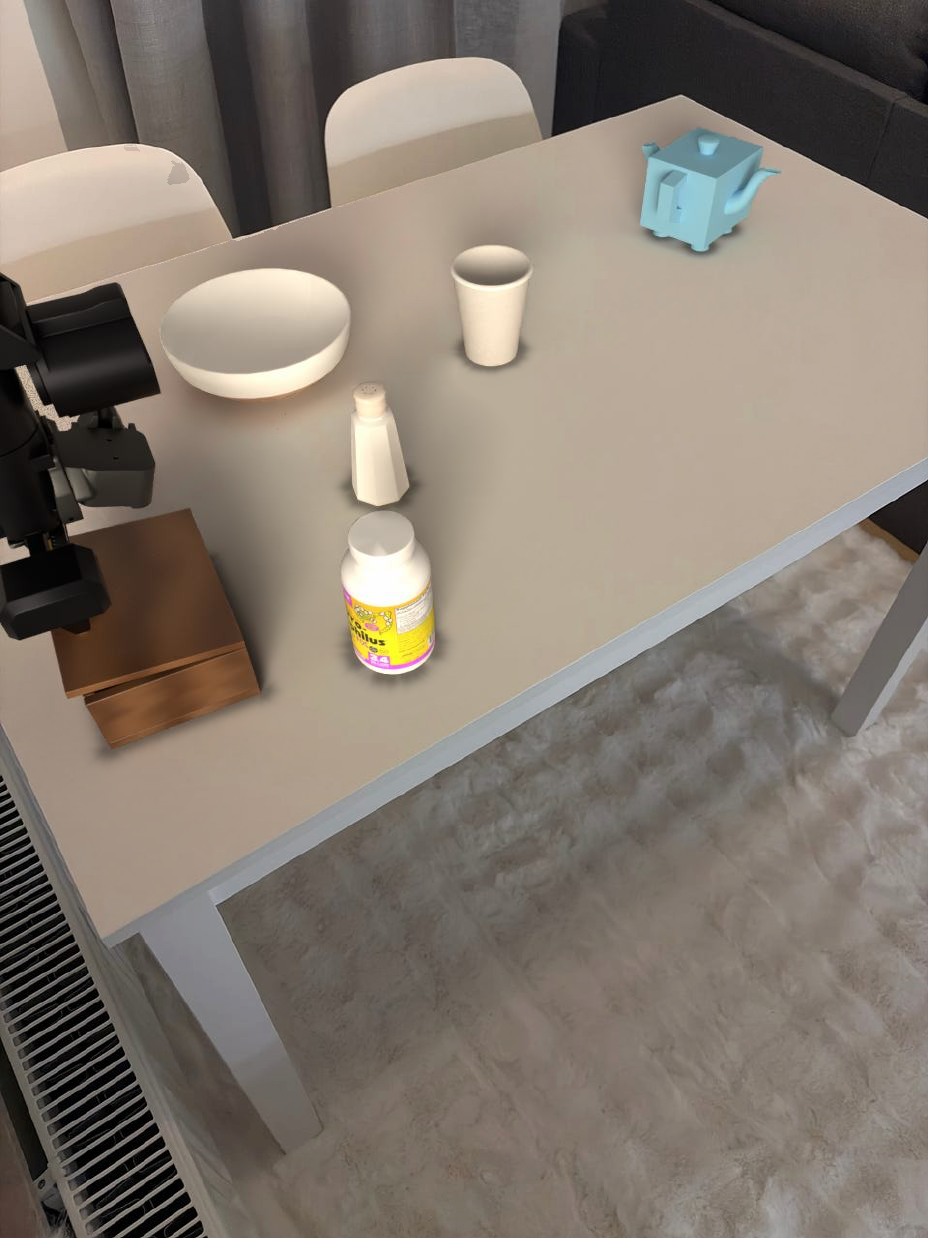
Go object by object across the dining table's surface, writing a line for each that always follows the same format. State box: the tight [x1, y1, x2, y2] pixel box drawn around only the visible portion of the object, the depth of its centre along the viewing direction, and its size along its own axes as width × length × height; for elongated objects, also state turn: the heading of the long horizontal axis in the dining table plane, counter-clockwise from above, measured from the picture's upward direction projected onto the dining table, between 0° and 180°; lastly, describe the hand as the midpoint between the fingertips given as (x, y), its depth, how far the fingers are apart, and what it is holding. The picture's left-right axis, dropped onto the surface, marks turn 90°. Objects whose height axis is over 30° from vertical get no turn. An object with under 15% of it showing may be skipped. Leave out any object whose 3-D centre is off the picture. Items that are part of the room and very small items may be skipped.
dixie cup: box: [449, 244, 534, 367], centre depth 96 cm, size 8×8×10 cm
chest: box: [82, 646, 262, 750], centre depth 72 cm, size 12×16×6 cm
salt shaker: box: [350, 381, 410, 507], centre depth 82 cm, size 5×5×11 cm
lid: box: [48, 507, 246, 700], centre depth 67 cm, size 12×16×5 cm
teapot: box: [639, 126, 782, 252], centre depth 110 cm, size 16×18×11 cm
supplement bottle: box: [339, 510, 436, 675], centre depth 69 cm, size 7×7×13 cm
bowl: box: [158, 267, 352, 402], centre depth 96 cm, size 20×20×6 cm
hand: (75, 601), depth 67 cm, fingers closed on lid, 6 cm apart
